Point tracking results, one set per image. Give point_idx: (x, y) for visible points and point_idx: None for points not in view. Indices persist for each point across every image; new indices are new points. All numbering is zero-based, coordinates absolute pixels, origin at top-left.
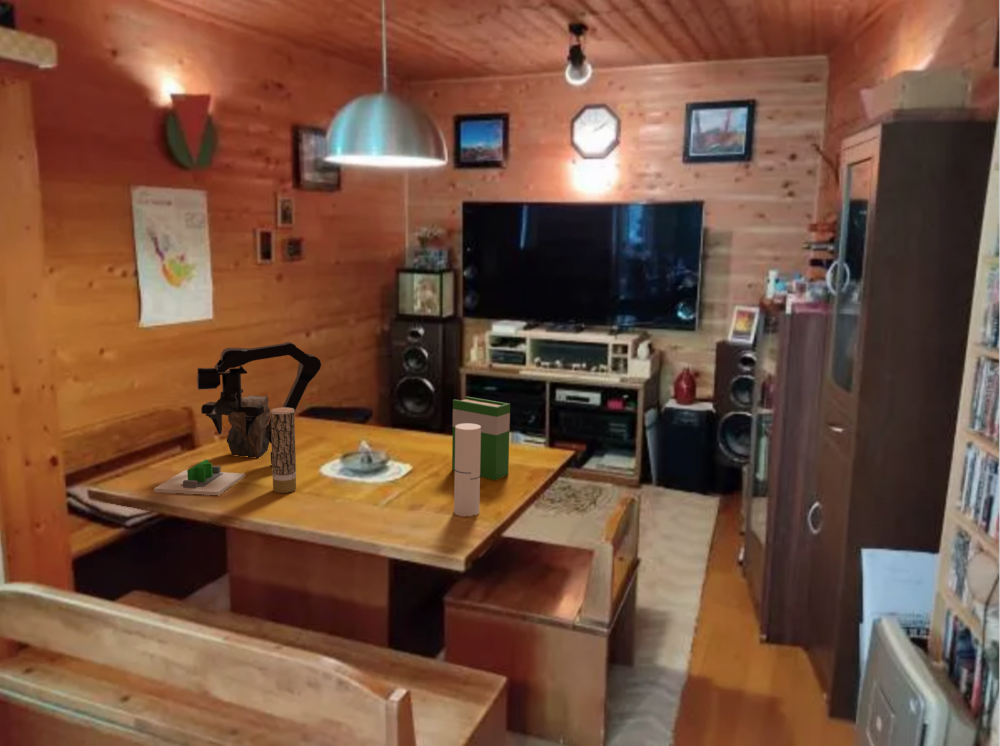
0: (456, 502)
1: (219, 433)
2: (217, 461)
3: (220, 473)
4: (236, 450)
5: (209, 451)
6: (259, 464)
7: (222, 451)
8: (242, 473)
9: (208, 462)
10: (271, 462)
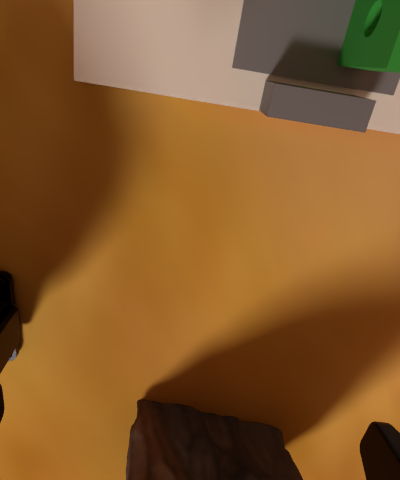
0: None
1: (385, 431)
2: (328, 356)
3: (250, 61)
4: (256, 447)
5: None
6: (98, 321)
7: (329, 468)
8: (92, 82)
9: (375, 63)
10: (9, 309)
